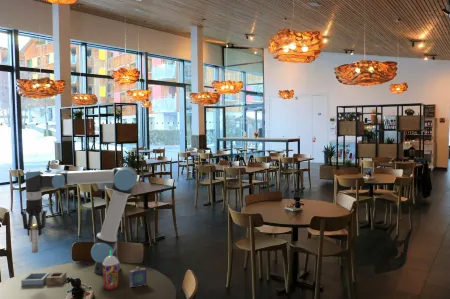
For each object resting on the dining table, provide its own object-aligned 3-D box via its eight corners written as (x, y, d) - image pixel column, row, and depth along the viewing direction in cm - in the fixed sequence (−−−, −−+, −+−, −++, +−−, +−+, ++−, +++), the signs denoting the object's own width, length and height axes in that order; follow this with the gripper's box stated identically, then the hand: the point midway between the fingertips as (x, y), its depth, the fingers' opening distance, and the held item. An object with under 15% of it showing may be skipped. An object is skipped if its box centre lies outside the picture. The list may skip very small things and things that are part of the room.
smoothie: (114, 291, 200) (113, 253, 199) (99, 290, 201) (99, 252, 200) (121, 285, 208) (121, 248, 207) (107, 284, 210) (107, 247, 209)
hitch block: (66, 278, 217) (66, 271, 217) (61, 284, 210) (61, 277, 209) (52, 279, 217) (51, 272, 217) (46, 284, 209) (46, 277, 209)
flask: (130, 288, 203) (130, 268, 203) (128, 287, 206) (128, 267, 205) (147, 285, 208) (146, 265, 207) (145, 283, 210) (145, 264, 210)
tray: (50, 278, 218) (50, 272, 218) (42, 286, 207) (42, 279, 207) (30, 279, 217) (30, 273, 217) (21, 286, 207) (21, 280, 206)
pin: (41, 250, 214) (40, 224, 213) (37, 253, 209) (37, 226, 209) (32, 250, 214) (31, 224, 213) (28, 253, 209) (28, 226, 208)
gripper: (15, 200, 206) (16, 243, 207) (46, 199, 207) (47, 242, 208) (21, 198, 213) (22, 239, 214) (51, 197, 215) (52, 239, 216)
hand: (34, 241), depth 211 cm, fingers closed on pin, 3 cm apart
